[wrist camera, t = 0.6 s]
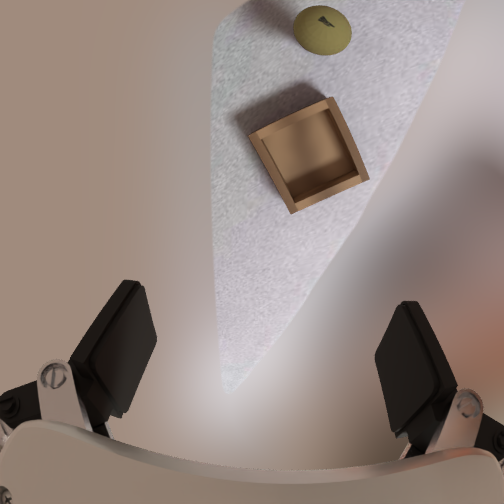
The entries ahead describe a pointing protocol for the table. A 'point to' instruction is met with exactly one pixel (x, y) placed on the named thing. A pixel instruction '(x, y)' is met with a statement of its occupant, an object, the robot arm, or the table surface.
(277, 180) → the open wooden box
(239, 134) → the table surface
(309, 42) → the light bulb
